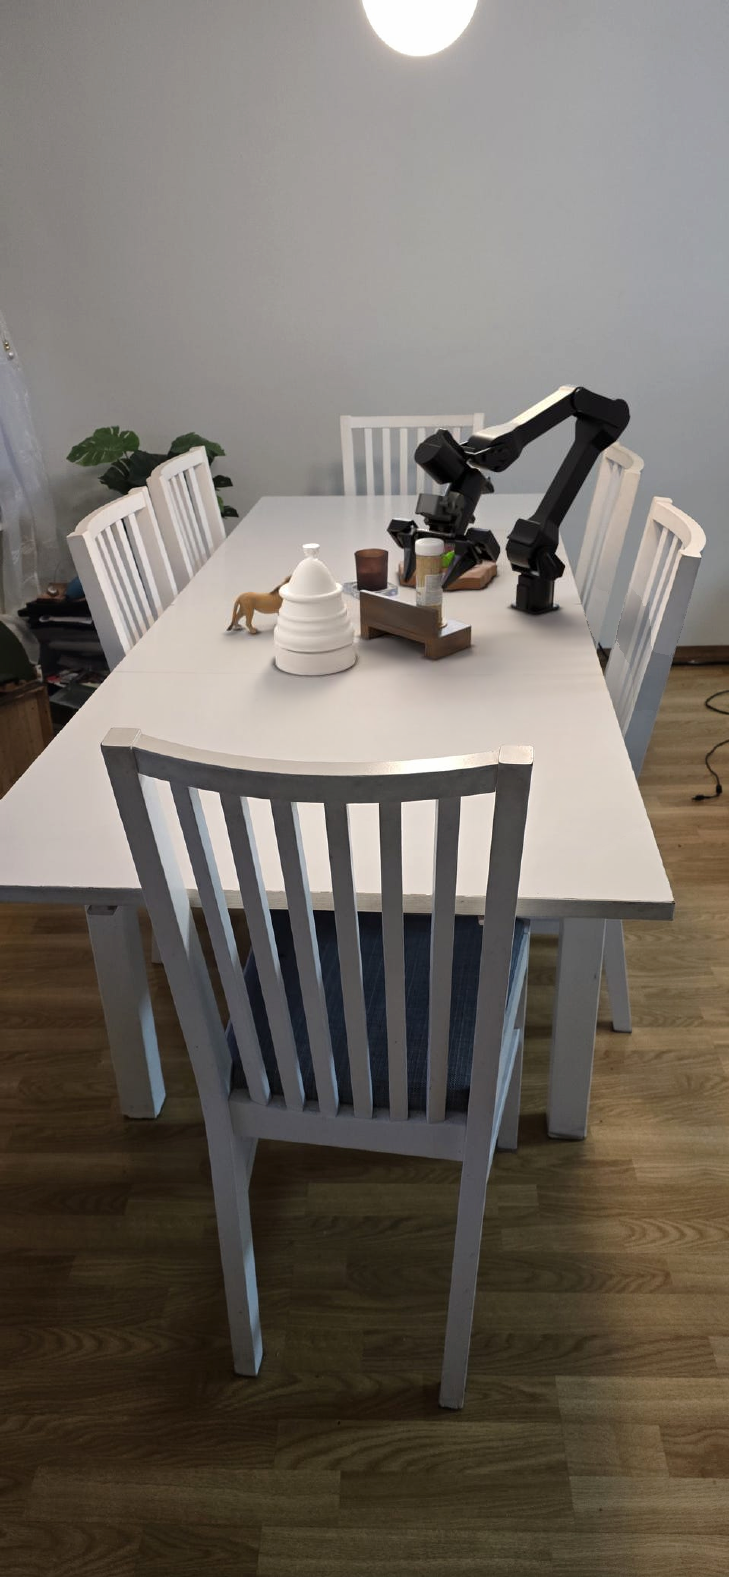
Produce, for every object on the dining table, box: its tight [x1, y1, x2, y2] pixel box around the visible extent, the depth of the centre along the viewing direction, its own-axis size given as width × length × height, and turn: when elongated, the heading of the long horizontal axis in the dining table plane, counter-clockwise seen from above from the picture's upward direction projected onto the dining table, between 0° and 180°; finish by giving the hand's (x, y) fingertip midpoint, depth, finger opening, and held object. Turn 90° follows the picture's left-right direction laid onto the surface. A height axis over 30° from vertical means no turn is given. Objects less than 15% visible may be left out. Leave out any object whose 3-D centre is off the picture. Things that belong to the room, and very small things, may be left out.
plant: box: [398, 545, 498, 591], centre depth 197 cm, size 20×20×11 cm
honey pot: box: [273, 543, 357, 676], centre depth 155 cm, size 13×13×18 cm
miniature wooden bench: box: [358, 589, 472, 661], centre depth 164 cm, size 9×17×8 cm, turn 44°
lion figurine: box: [226, 573, 293, 634], centre depth 172 cm, size 15×5×9 cm, turn 110°
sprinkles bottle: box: [415, 538, 444, 623], centre depth 160 cm, size 5×5×14 cm
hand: (423, 585), depth 159 cm, fingers open, 7 cm apart
